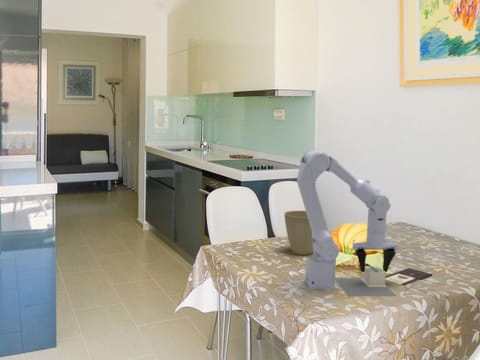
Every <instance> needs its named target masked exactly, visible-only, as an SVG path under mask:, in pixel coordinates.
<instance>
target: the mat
mask: <svg viewBox="0 0 480 360" xmlns="http://www.w3.org/2000/svg"><path fill="white" fill-rule="evenodd" d="M335 283H336V284H338V286H339V288H341V289H342V290H343V292H345V294H346V296H348V297H349V298H350V297H397V294H396V293H394V291H392V290H391V289H390V288H389V287H388V286H387V285H386V284H385V286H369V285H368V284H367V283H366V282H365V281H364V280H363V277H335Z"/></svg>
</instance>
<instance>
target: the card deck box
mask: <svg viewBox="0 0 480 360" xmlns="http://www.w3.org/2000/svg"><path fill="white" fill-rule="evenodd" d="M386 274H387V272H385V271H384V270H383V268H381V267H379V266H378V265H372V266H370V265H368V266H367V265H365V272H362V278H363V280H364V281H365V282H366V283H367V284H368V285H369V286H385V285H386V280H385V276H386Z"/></svg>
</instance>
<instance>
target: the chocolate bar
mask: <svg viewBox="0 0 480 360" xmlns="http://www.w3.org/2000/svg"><path fill="white" fill-rule="evenodd" d="M430 277H433V273H429V272H425V271H422V270H418V269H416V268H415V269H414V268H410V267H408V268H405V269H402V270H400V271H397V272H394V273H391V274H388V275H385V281H389V282H392V283H395V284H399V285H401V286H406V285H409V284H411V283H415V282H416V281H419V280H420V281H422V279H423V280H425V279H427V278H430Z"/></svg>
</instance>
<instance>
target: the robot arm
mask: <svg viewBox="0 0 480 360" xmlns="http://www.w3.org/2000/svg"><path fill="white" fill-rule="evenodd" d="M299 162H300V164H299V169H298V172H297V177H296V182H297V186H298V190H299V193H300V196H301V198H302V203H303V206H304V209H305V210H304V211H306V213H307V216H308V219H309V223H310V226H311V229H312V251H314V254H313V257H312V258H307V259H306V260H305V268H304V269H305V271H304V282H305V284H306V285H307V287H308V289H310V290H319V289H320V290H326V289H327V290H330V289H331V290H332V289H335V290H336V289H339V288H340V286H339V285H337V283H336V281H335V278H336V269H337V268H336V265H337V258H338V257H339V254H340V248H339V246H338V244H337V243H336V242H335V241H334V239H333V236H332V235H331V232H330V231H329V227H328V225H327V222H326V218H325V215H324V211H323V208H322V205H321V201H320V199H319V198H320V197H319V196H318V192H317V188H316V184H315V183H316V181H317V180H318V179H319V177H320V176H321V175H322V174H323V173H324V172H329V173H333V174H334V175H335V176H336V177H338V179H340V180H342V181H343V182H344V183H346V184H347V185H348V186H349V188H350V192H351V194H353V195H354V196H355V197H356V198H357V199H359V200H360V201H361V202H362V203H363V204H365V206H366V208H368V212H367V228H366V241H361V242H353V243H352V249H353V250H354V252H355V254H356V256H357V259H358V263H359V268H360V271H361V273H363V272H365V266H366V260H367V255H368V254H367V252H366V251H367V250H368V251H372V250H373V251H375V250H376V251H377V250H379V251H381V250H382V252H383V253H382V254H383V255H382V257H383V263H382V270H383V271H384V272H385V273H387V272H388V270H389V267H390V265H391V263H392V261H393V259H394V257H395V256H396V254H397V252H396V251H398V250H399V244H398V243H396V242H386V227H387V213H388V212H389V211H390V209H391V203H390V201H389V198H388V197H387V196H385V195H382V194H380V193H381V191H380V190H379V189H378V188H375V187H373V186H372V185H371V181H369V179H364V178H357V177H356V176H354V175H353V174H352V173H351V172H350V171H349V169H347V168H346V167H345V166H343V164H341V163H340V162H339V161H338V160H336V159H335V158H334V157H332V156H331V155H329V154H328V153H326V152H325V151H321V150H320V151H319V150H316V149H308V150H306V152H305V153H304V154H303V156H302V157H301V158H300V160H299Z"/></svg>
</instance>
